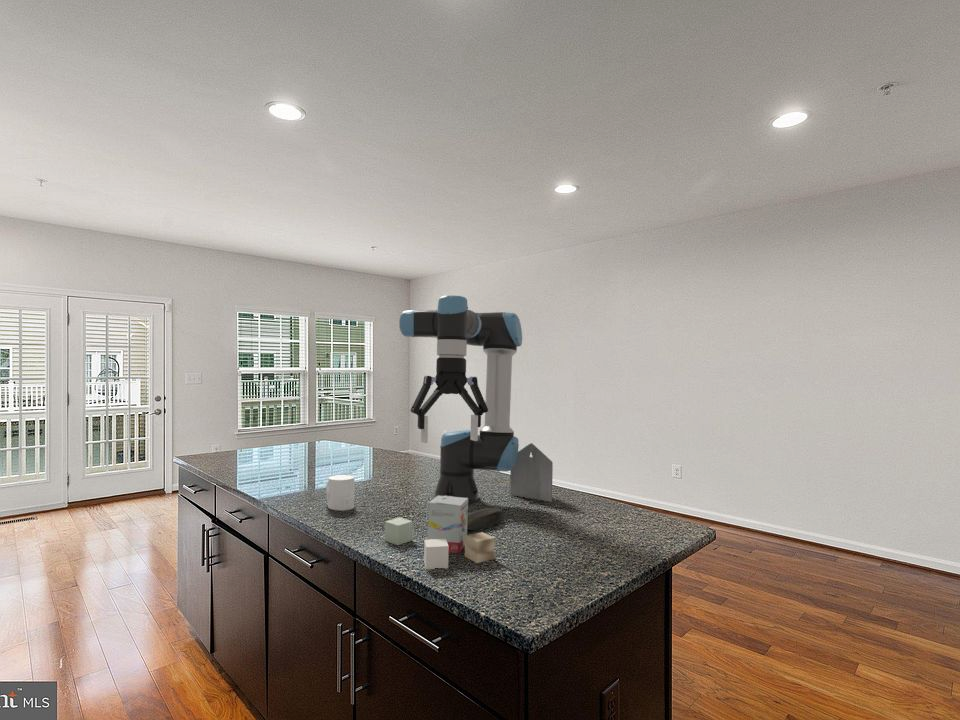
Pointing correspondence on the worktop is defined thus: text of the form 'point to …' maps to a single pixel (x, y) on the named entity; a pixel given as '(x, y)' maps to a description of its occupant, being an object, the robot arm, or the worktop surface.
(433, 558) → the off-white cube
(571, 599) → the worktop surface
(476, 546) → the maple cube
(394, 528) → the sage cube
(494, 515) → the decorative stone
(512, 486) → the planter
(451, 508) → the ink box
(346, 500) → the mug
